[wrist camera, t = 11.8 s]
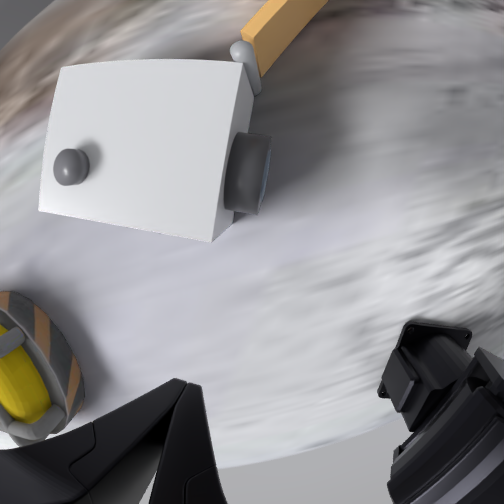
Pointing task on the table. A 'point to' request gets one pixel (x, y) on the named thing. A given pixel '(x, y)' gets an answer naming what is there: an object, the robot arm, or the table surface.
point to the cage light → (35, 373)
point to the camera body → (154, 146)
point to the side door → (271, 35)
